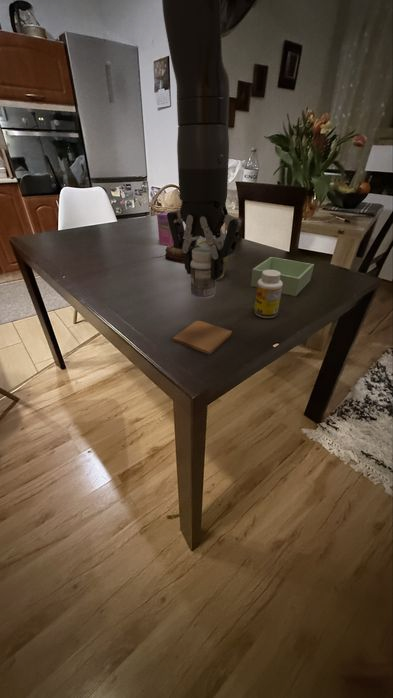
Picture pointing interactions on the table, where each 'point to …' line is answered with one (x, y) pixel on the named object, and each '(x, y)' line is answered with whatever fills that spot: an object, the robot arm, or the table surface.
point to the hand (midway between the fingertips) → (203, 275)
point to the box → (164, 229)
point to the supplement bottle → (268, 294)
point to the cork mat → (202, 336)
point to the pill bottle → (202, 274)
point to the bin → (285, 274)
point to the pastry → (175, 254)
